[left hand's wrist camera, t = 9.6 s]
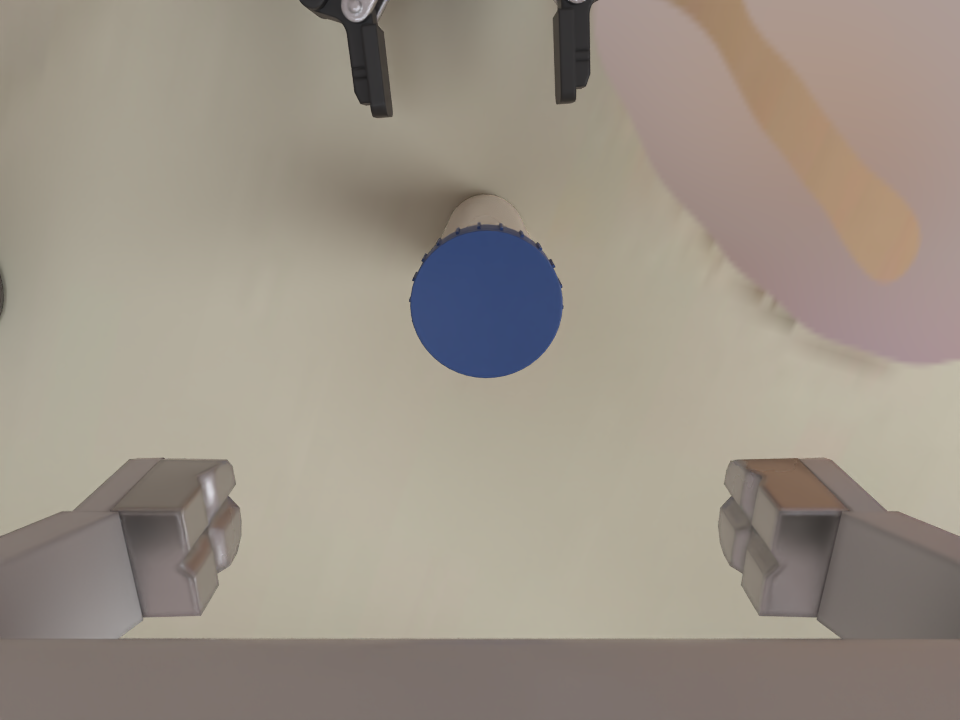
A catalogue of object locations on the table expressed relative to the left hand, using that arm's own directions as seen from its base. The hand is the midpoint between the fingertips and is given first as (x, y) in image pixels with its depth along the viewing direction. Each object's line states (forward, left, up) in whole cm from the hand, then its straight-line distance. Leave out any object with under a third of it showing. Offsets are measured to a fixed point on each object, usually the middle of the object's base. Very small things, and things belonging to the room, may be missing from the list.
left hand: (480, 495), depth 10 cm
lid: (0, 0, -12) cm, 12 cm away
